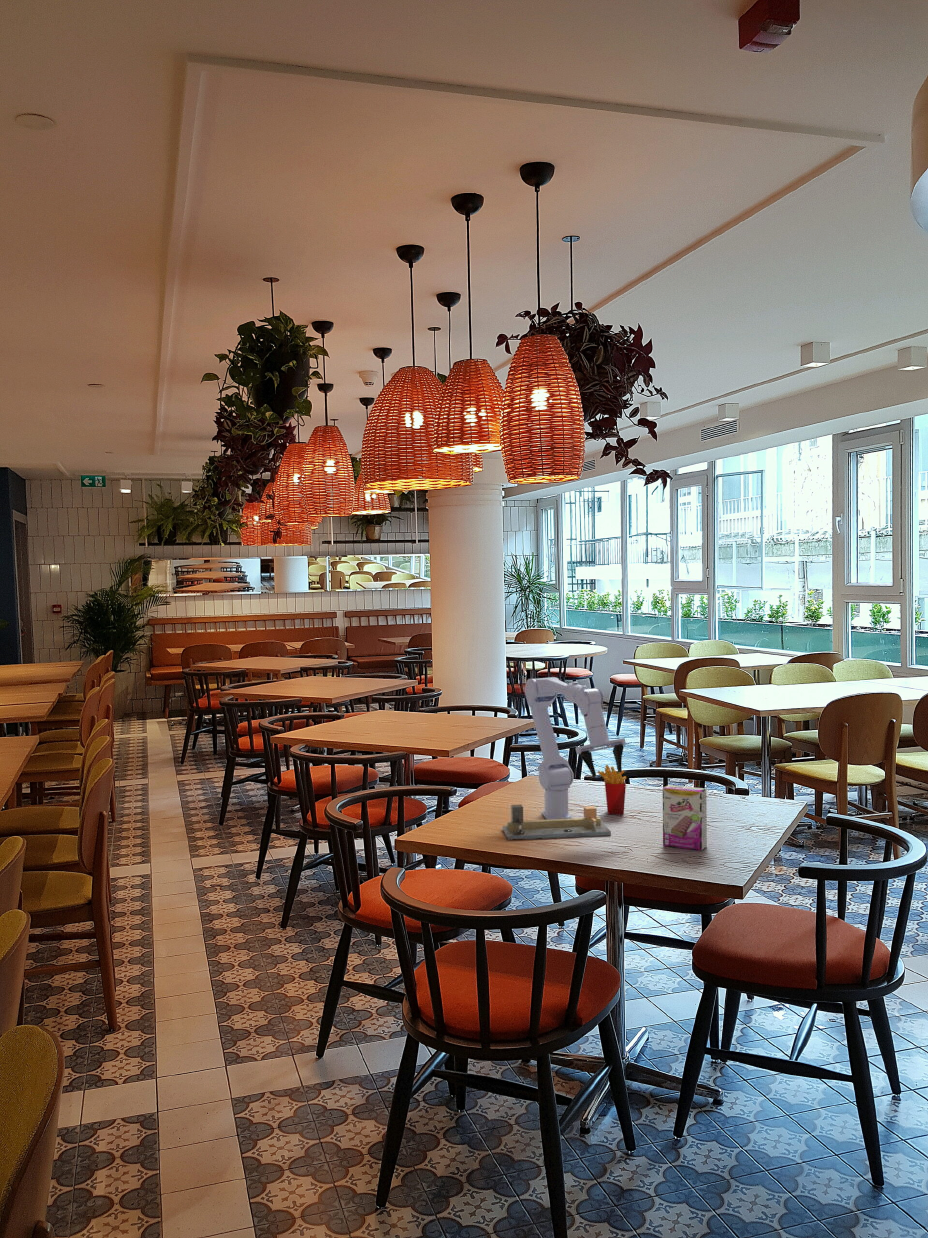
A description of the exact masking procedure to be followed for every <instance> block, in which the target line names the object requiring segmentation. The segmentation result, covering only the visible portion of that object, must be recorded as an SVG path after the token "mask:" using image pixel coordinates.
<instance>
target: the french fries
mask: <svg viewBox="0 0 928 1238" xmlns="http://www.w3.org/2000/svg"><path fill="white" fill-rule="evenodd" d="M604 768H605V769H604V770H601V771H600V770H598V771H596V774H599V775H600V776H601V777H602V778H603V779H604V780H603V781H604V787H605V788H604V790H605V798H606V808H607V809H606V810H607V815H609V816H610V815H611V816H614V815H615V816H619V814H620V816H622V815H623V814H625V812H624V811H625V800H626V788H627V787H626V786H627V785H626V781H625V780H626V779H627V776H626V775H625V776H622V775H623V774H624V773H625V772H626V771H625V769H623V770H622V771H621V772H618V770H615V768H614V766H609V765H608V764H606V765H605V766H604Z"/></svg>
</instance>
